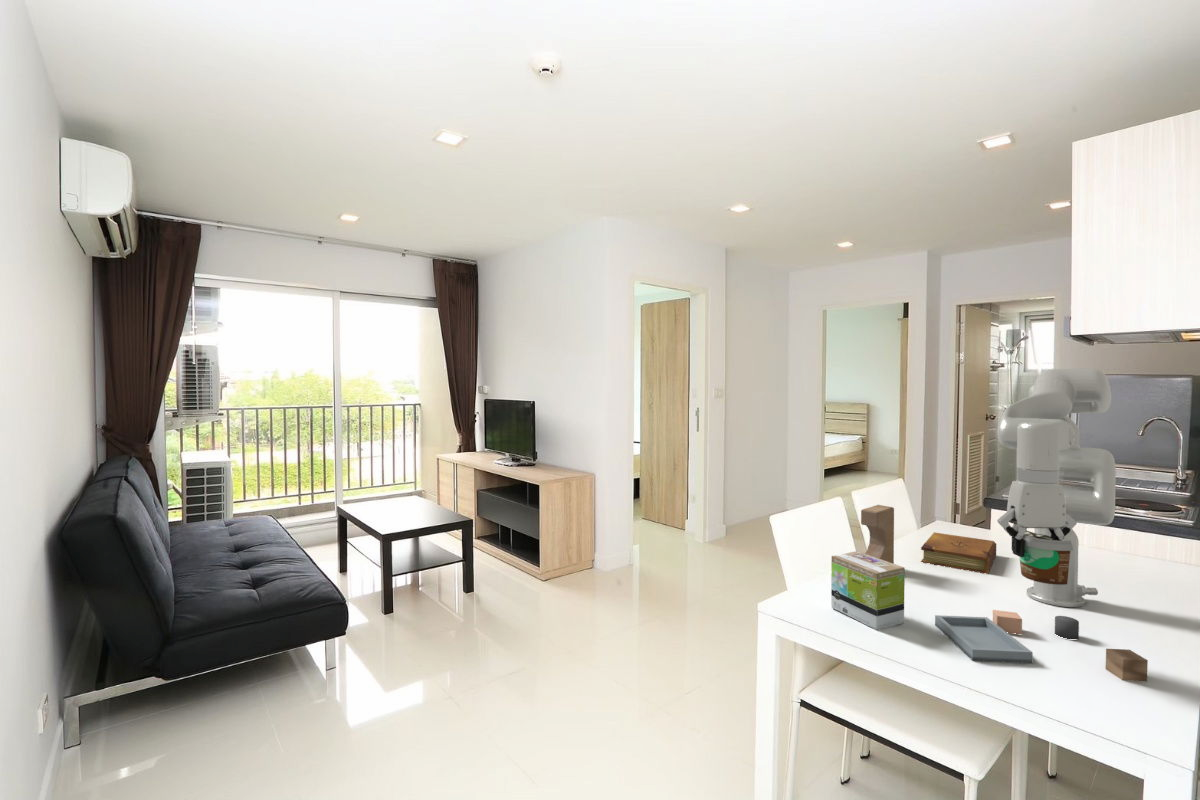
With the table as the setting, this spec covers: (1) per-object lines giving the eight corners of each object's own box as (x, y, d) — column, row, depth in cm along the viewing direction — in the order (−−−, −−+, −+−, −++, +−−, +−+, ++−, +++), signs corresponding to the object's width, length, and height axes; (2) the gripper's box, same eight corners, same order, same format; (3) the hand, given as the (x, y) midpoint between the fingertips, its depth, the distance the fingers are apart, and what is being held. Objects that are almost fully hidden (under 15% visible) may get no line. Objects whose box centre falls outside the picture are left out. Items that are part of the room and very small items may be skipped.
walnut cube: (1129, 670, 119) (1129, 649, 119) (1146, 682, 115) (1147, 660, 115) (1105, 669, 120) (1106, 648, 120) (1122, 680, 116) (1122, 659, 115)
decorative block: (877, 576, 177) (877, 512, 176) (859, 571, 182) (859, 509, 181) (894, 568, 184) (895, 507, 183) (877, 564, 188) (877, 504, 187)
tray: (986, 627, 140) (987, 617, 140) (1032, 663, 123) (1032, 652, 122) (935, 625, 142) (935, 615, 142) (972, 660, 124) (972, 649, 124)
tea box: (829, 608, 153) (829, 554, 152) (857, 602, 157) (857, 549, 156) (876, 631, 139) (877, 571, 138) (905, 624, 143) (906, 565, 142)
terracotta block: (1016, 628, 140) (1017, 612, 140) (1021, 635, 136) (1022, 619, 136) (992, 625, 142) (992, 609, 142) (996, 632, 138) (997, 616, 138)
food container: (1000, 569, 134) (1000, 528, 133) (1024, 567, 134) (1024, 525, 134) (1047, 589, 121) (1047, 543, 121) (1073, 586, 122) (1073, 541, 122)
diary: (988, 576, 178) (988, 558, 177) (921, 564, 190) (921, 547, 189) (996, 557, 195) (996, 540, 195) (933, 547, 207) (934, 531, 207)
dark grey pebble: (1070, 632, 137) (1070, 616, 137) (1083, 640, 133) (1083, 623, 133) (1050, 631, 138) (1050, 615, 138) (1062, 639, 133) (1062, 623, 133)
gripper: (1067, 474, 130) (1065, 551, 130) (986, 473, 131) (985, 550, 132) (1092, 479, 122) (1090, 562, 123) (1006, 479, 124) (1005, 560, 125)
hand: (1036, 555), depth 128 cm, fingers closed on food container, 6 cm apart
